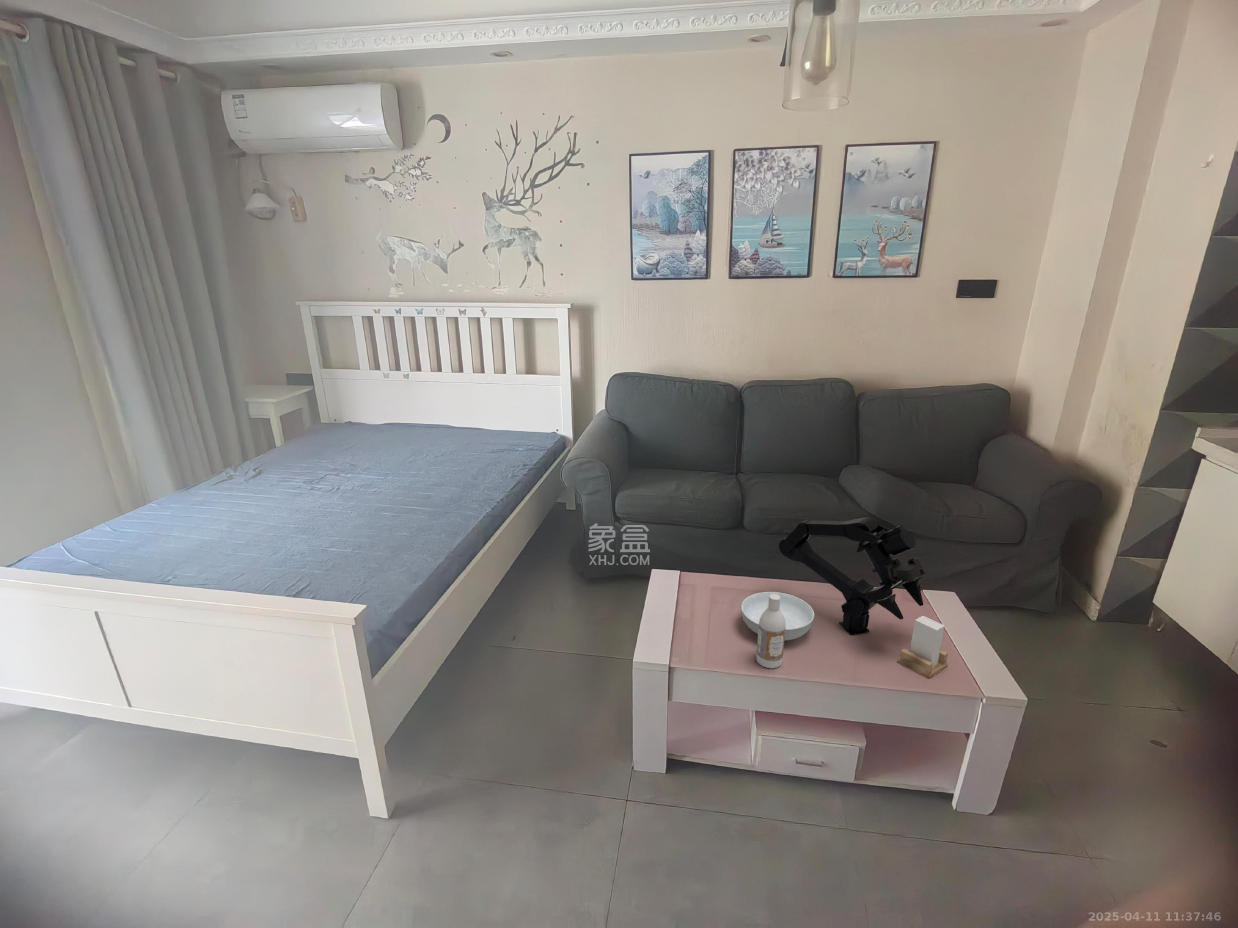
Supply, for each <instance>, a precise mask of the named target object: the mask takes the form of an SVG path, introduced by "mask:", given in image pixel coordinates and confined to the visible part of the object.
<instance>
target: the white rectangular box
mask: <svg viewBox="0 0 1238 928" xmlns="http://www.w3.org/2000/svg"><path fill="white" fill-rule="evenodd" d="M945 628H946V627H945V625H944V624H942V623H940V622H938V621H936V620H933V619H931V618H929V617H927V616H924V615H922V616H919V617H918V618H916V619H915V620H914V625H913V630H912V636H911V642H910V647H909V649H910V650H909V651H910V652H912V653H914V654H916V655H918V656H920V657H922V658H924V659H926V660H928V661H930V662H932V663H933V666H932V668H933V667H935V666H936V665H938V659H939V654H940V649H941V647H942V642H943V636H944V631H945ZM941 650H942V649H941Z"/></svg>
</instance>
